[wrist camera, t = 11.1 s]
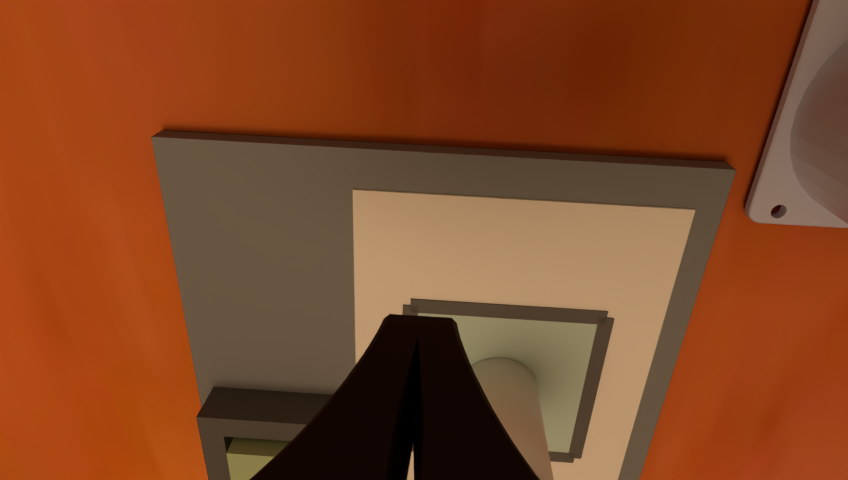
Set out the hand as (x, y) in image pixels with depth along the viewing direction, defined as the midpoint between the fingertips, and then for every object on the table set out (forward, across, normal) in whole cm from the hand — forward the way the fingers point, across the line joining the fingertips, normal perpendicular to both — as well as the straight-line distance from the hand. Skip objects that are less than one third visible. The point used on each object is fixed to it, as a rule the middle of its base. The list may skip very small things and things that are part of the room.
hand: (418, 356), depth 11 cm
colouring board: (+10, 0, +8) cm, 13 cm away
